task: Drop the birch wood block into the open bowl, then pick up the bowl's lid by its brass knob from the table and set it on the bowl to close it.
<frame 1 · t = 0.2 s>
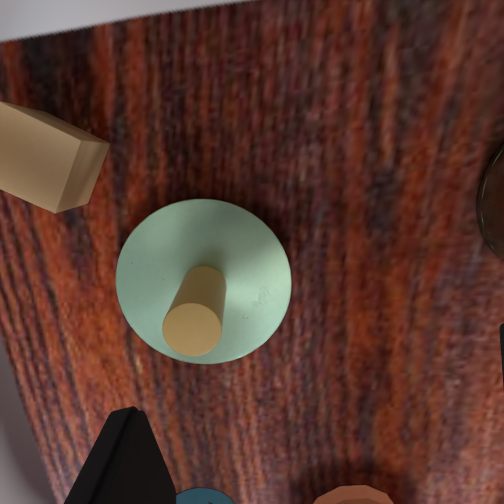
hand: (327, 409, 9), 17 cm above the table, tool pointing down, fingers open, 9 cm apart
lid: (205, 284, 26), point 1 cm above the table
block: (67, 159, 24), on the table
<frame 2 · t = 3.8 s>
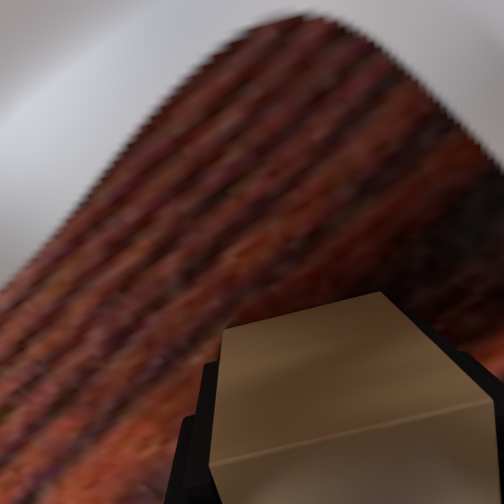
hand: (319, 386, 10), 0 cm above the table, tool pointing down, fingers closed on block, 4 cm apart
block: (316, 378, 10), on the table, touching gripper
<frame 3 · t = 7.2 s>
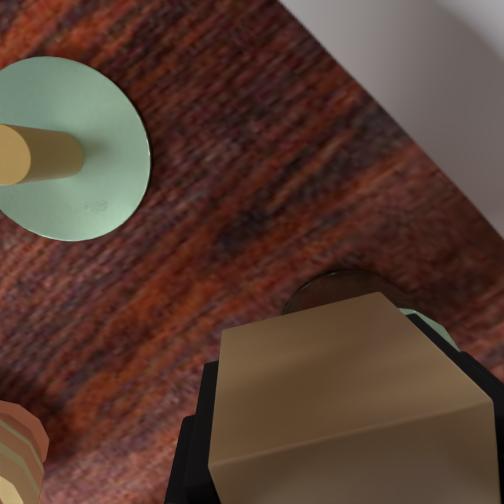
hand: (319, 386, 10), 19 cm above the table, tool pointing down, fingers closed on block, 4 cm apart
lid: (64, 154, 25), point 1 cm above the table
bowl: (344, 332, 30), on the table
potted cactus: (0, 438, 33), on the table
block: (316, 378, 10), point 18 cm above the table, touching gripper
when the fingers open (7 cm above the table, at t = 10.9 s): block drops 6 cm, resting on bowl.
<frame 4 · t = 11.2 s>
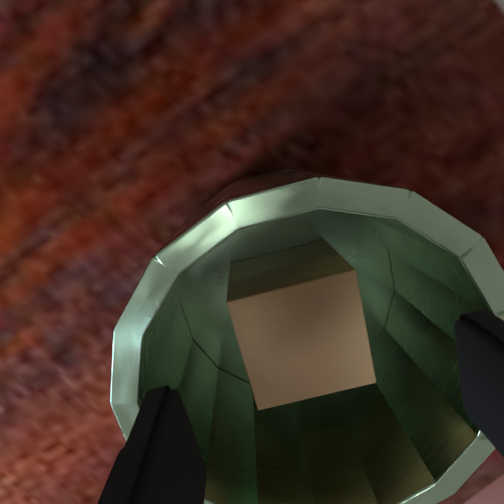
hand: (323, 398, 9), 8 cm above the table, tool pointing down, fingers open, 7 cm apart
bowl: (286, 292, 17), on the table
block: (288, 295, 17), resting on bowl
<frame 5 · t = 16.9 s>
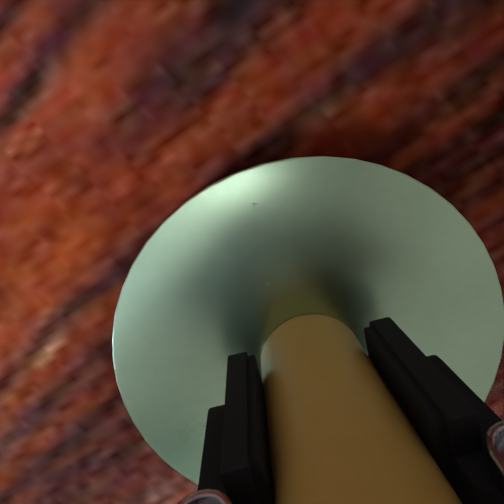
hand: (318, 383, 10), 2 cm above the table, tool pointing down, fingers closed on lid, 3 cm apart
lid: (307, 350, 12), point 1 cm above the table, touching gripper
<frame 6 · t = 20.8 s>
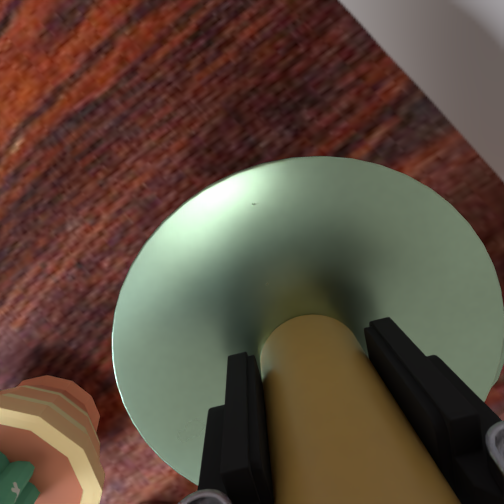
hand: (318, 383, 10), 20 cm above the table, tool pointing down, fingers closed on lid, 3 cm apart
lid: (307, 351, 12), point 19 cm above the table, touching gripper
potted cactus: (53, 414, 34), on the table
when the fingers open (9 cm above the table, at t = 25.0 s): lid stays where it is, resting on bowl.
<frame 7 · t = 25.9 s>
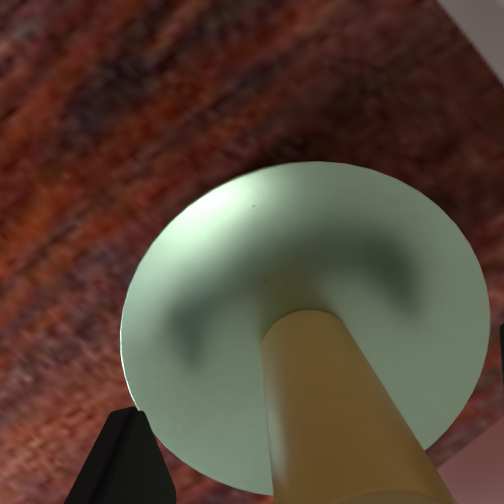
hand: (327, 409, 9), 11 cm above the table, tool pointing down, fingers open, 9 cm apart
lid: (304, 344, 12), point 7 cm above the table, touching bowl
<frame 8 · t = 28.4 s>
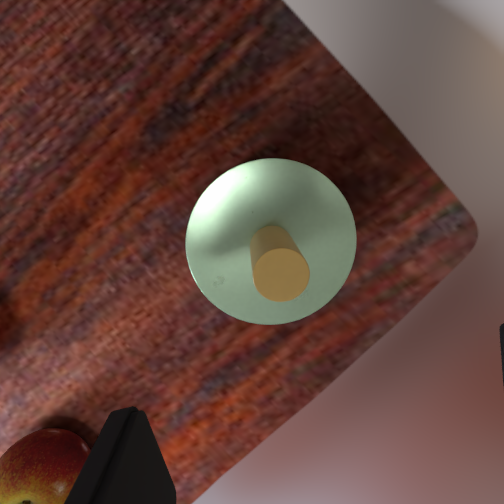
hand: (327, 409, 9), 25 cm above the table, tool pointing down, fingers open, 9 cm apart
lid: (271, 245, 26), point 7 cm above the table, touching bowl
fruit: (63, 446, 40), on the table
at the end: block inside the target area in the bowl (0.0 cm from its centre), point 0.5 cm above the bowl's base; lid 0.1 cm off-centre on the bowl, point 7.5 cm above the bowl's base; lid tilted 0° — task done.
